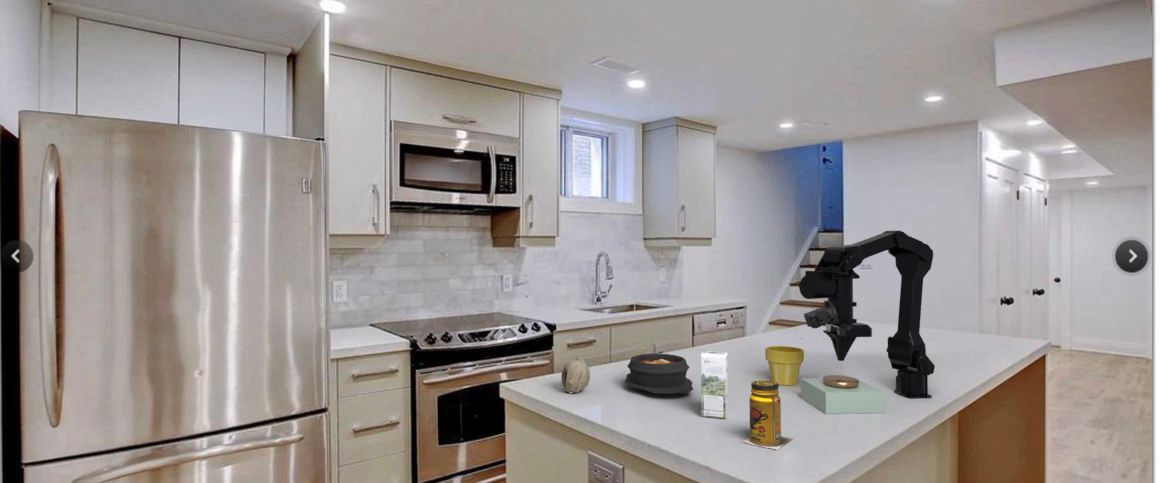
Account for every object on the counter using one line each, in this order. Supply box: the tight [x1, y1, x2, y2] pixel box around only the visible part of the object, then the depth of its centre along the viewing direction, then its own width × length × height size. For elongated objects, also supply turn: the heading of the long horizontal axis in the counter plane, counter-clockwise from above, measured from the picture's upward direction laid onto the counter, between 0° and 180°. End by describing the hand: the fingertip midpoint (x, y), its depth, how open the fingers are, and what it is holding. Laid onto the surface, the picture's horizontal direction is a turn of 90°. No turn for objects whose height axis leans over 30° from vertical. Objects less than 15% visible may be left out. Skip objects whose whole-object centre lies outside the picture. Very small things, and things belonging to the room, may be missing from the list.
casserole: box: [624, 353, 694, 395], centre depth 160 cm, size 25×19×8 cm
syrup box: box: [700, 350, 729, 419], centre depth 135 cm, size 6×6×14 cm
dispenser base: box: [800, 377, 886, 415], centre depth 143 cm, size 14×14×5 cm
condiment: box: [742, 379, 793, 451], centre depth 118 cm, size 7×8×12 cm
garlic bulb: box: [561, 356, 591, 394], centre depth 158 cm, size 9×8×10 cm
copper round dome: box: [822, 374, 860, 388], centre depth 143 cm, size 8×8×5 cm
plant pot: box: [765, 345, 805, 386], centre depth 165 cm, size 10×10×10 cm
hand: (840, 360), depth 143 cm, fingers closed
